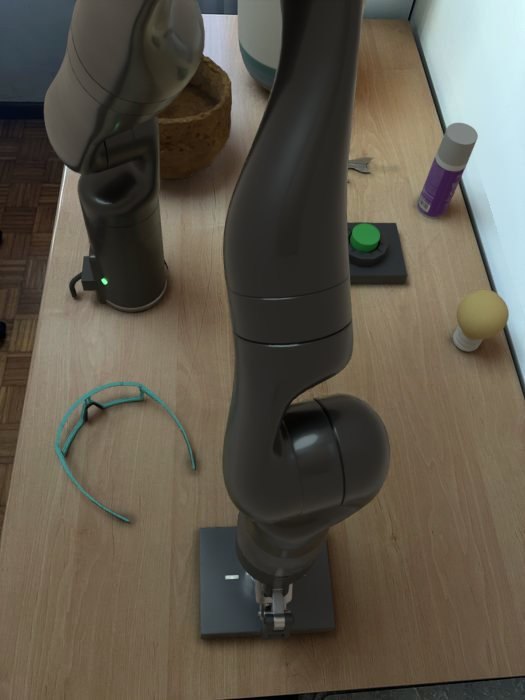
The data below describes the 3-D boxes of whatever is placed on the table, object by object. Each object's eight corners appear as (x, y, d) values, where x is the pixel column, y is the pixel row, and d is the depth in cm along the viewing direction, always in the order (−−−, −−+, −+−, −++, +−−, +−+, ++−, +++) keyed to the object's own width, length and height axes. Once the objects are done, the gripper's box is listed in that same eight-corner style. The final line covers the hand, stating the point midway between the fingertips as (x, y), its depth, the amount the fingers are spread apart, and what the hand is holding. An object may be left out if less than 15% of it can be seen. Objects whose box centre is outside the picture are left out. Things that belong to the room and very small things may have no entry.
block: (322, 284, 96) (326, 267, 92) (315, 231, 101) (319, 213, 98) (403, 284, 97) (410, 267, 94) (392, 232, 102) (399, 214, 99)
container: (444, 222, 104) (478, 147, 91) (415, 216, 104) (444, 141, 91) (446, 200, 106) (479, 125, 94) (417, 194, 107) (446, 119, 94)
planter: (350, 124, 114) (377, 5, 96) (232, 117, 113) (237, -6, 95) (344, 50, 125) (367, -70, 106) (236, 43, 124) (240, -80, 105)
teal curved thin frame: (133, 376, 86) (131, 359, 81) (207, 462, 82) (210, 449, 78) (39, 442, 80) (32, 428, 76) (114, 537, 77) (111, 528, 72)
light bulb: (459, 368, 90) (486, 328, 82) (433, 332, 93) (455, 290, 84) (496, 351, 92) (526, 311, 83) (469, 316, 95) (495, 274, 86)
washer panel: (200, 638, 70) (200, 634, 68) (199, 535, 76) (199, 527, 73) (330, 631, 72) (335, 627, 69) (320, 530, 77) (324, 522, 75)
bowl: (130, 111, 112) (120, 29, 99) (240, 131, 111) (244, 51, 99) (96, 191, 102) (80, 111, 89) (216, 213, 102) (217, 136, 89)
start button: (351, 252, 95) (354, 244, 93) (348, 231, 97) (350, 223, 95) (379, 252, 95) (382, 244, 94) (375, 231, 97) (377, 223, 96)
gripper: (233, 452, 60) (228, 508, 73) (239, 621, 52) (232, 647, 66) (316, 449, 60) (295, 505, 74) (333, 616, 53) (307, 643, 67)
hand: (266, 572), depth 70 cm, fingers open, 8 cm apart
